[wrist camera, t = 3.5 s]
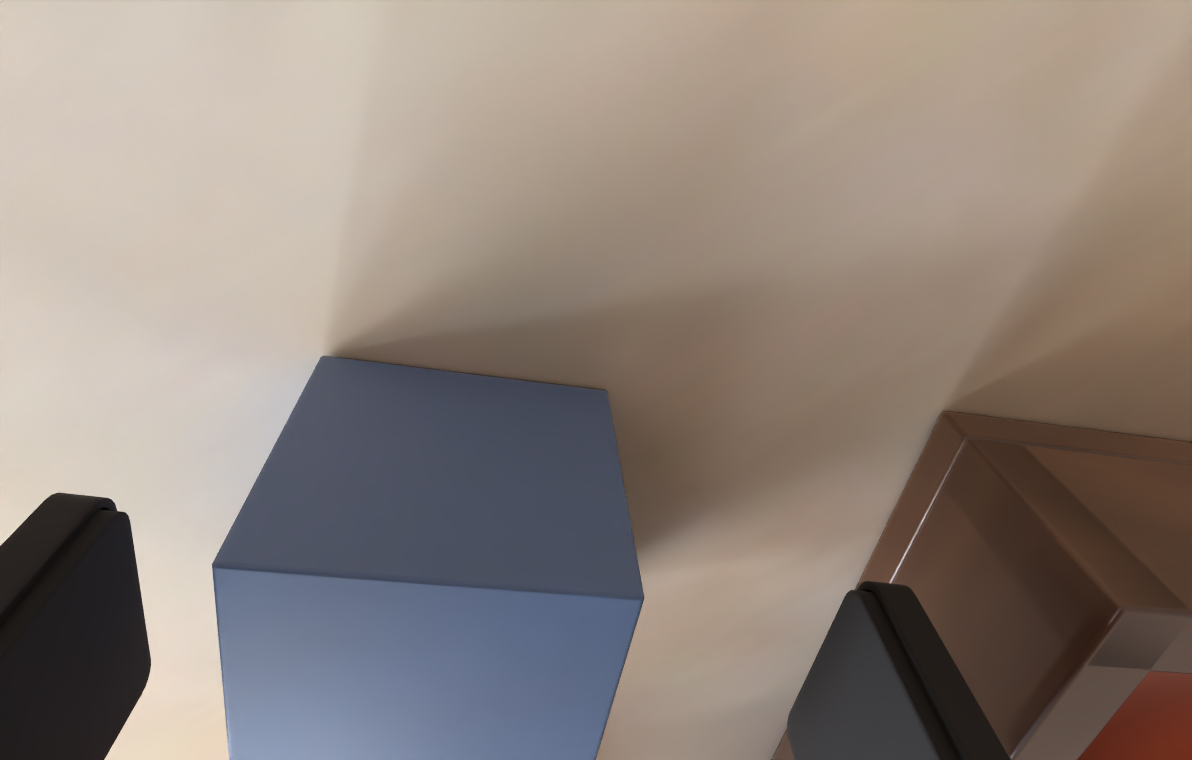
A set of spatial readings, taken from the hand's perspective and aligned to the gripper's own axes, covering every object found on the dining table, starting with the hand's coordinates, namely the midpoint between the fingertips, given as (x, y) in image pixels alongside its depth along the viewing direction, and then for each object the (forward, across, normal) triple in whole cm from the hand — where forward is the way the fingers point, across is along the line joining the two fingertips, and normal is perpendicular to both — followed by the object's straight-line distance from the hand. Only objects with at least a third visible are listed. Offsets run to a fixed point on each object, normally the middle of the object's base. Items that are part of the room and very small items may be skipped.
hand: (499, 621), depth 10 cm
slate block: (+2, +1, 0) cm, 3 cm away
